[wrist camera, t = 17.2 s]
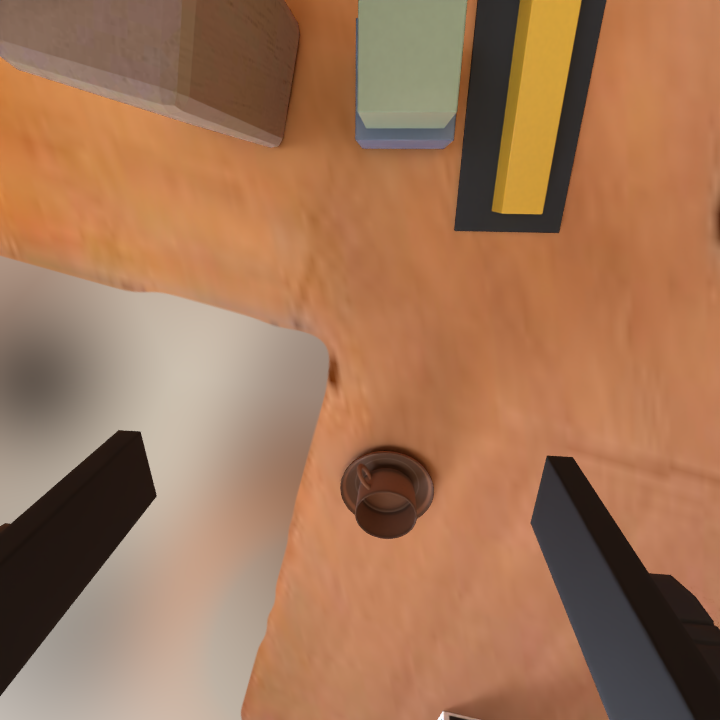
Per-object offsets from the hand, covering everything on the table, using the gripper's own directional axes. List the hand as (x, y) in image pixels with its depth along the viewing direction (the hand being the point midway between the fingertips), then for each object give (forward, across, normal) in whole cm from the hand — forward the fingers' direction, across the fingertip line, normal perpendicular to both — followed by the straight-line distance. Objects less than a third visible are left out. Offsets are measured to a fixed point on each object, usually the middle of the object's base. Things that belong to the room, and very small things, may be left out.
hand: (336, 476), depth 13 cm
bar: (+31, +12, +16) cm, 37 cm away
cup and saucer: (+32, +2, -27) cm, 42 cm away
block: (+32, -13, +18) cm, 39 cm away
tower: (+32, +2, +16) cm, 36 cm away
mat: (+32, +12, +16) cm, 38 cm away
